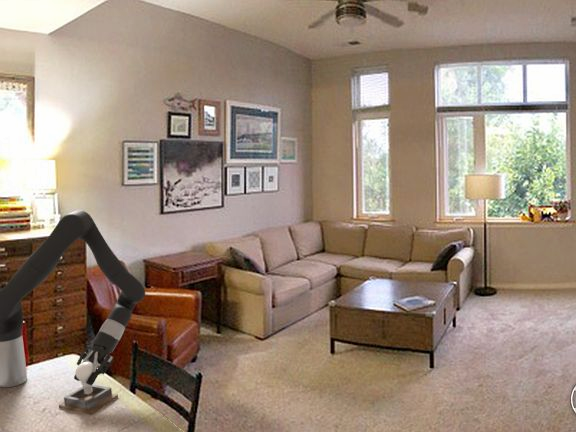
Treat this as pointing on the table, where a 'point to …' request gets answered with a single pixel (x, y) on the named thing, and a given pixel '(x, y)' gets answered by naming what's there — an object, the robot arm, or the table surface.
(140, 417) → the table surface
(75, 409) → the bulb stand
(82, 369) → the lightbulb
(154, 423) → the table surface
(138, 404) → the table surface
